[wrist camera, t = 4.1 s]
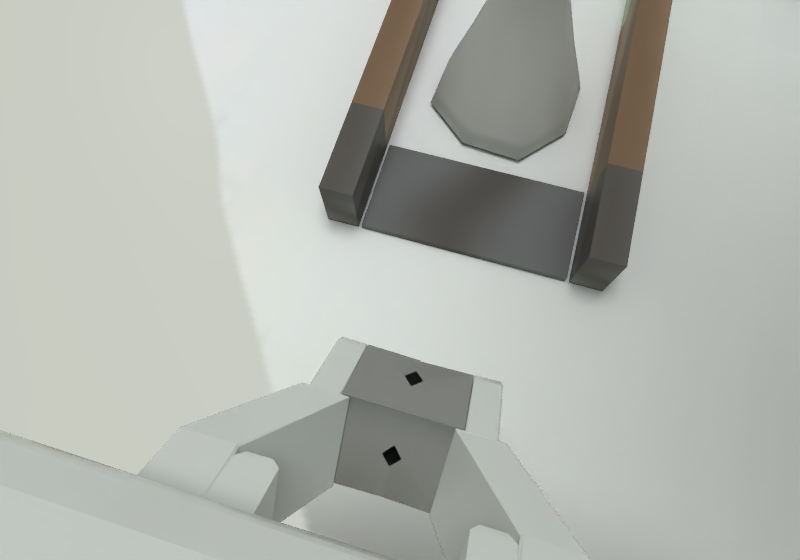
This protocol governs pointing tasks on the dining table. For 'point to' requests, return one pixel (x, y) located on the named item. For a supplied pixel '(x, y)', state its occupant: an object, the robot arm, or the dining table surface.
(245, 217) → the dining table surface
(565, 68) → the flask
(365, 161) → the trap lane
